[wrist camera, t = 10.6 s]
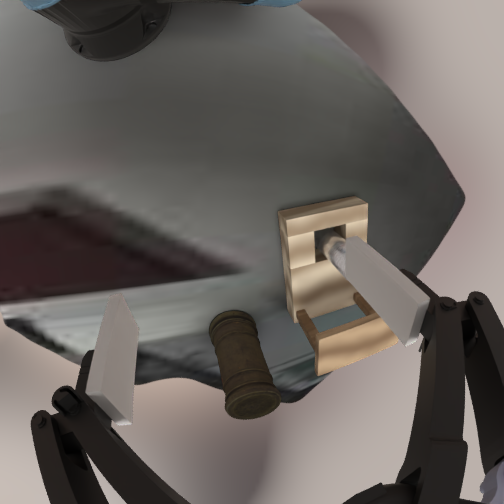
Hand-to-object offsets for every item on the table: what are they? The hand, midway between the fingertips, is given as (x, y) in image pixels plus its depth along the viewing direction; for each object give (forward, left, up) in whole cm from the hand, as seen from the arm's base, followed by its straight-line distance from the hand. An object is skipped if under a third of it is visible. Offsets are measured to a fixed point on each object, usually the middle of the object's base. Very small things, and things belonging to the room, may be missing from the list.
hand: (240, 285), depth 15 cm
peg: (+13, +17, -27) cm, 34 cm away
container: (+28, -1, -27) cm, 39 cm away
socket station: (+17, +17, -27) cm, 36 cm away
